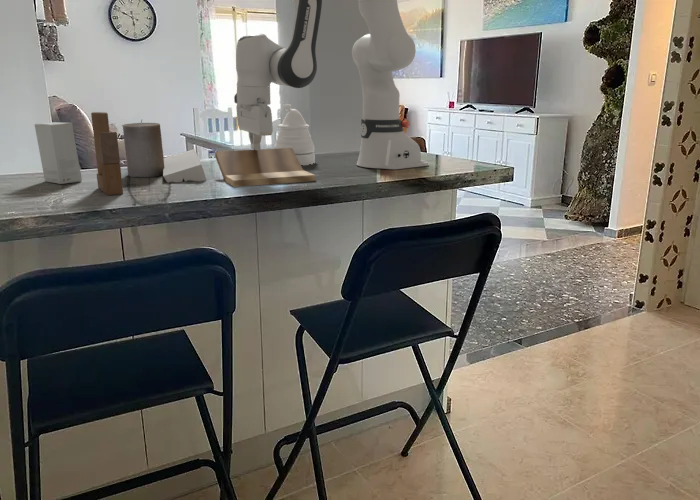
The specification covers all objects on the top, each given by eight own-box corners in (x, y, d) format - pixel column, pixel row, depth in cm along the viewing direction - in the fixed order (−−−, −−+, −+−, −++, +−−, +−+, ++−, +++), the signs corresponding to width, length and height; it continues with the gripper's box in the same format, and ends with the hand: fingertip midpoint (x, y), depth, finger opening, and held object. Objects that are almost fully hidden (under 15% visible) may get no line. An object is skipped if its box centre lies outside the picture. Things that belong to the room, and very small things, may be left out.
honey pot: (276, 166, 177) (274, 105, 172) (272, 160, 189) (271, 103, 184) (317, 165, 180) (317, 105, 174) (311, 159, 192) (311, 103, 186)
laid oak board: (304, 176, 160) (304, 170, 159) (315, 180, 153) (315, 174, 152) (225, 181, 150) (225, 175, 150) (233, 186, 143) (233, 180, 143)
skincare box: (82, 181, 148) (75, 122, 144) (59, 185, 143) (51, 124, 139) (64, 178, 153) (57, 120, 148) (42, 181, 148) (33, 122, 144)
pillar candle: (158, 170, 166) (152, 117, 162) (170, 175, 158) (164, 119, 154) (123, 174, 161) (116, 119, 156) (134, 179, 153) (127, 121, 149)
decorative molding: (169, 193, 150) (207, 181, 152) (163, 176, 148) (201, 164, 150) (168, 173, 181) (199, 163, 183) (163, 158, 179) (194, 148, 181)
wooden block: (107, 195, 132) (97, 114, 126) (97, 188, 140) (88, 112, 135) (123, 194, 133) (115, 114, 128) (113, 186, 142) (105, 111, 137)
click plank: (291, 152, 167) (292, 147, 165) (302, 175, 161) (303, 170, 160) (215, 156, 157) (215, 151, 156) (224, 180, 151) (224, 175, 150)
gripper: (278, 99, 148) (279, 153, 152) (253, 96, 166) (255, 145, 170) (254, 99, 146) (255, 154, 149) (232, 96, 163) (234, 145, 167)
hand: (255, 149), depth 160 cm, fingers closed
